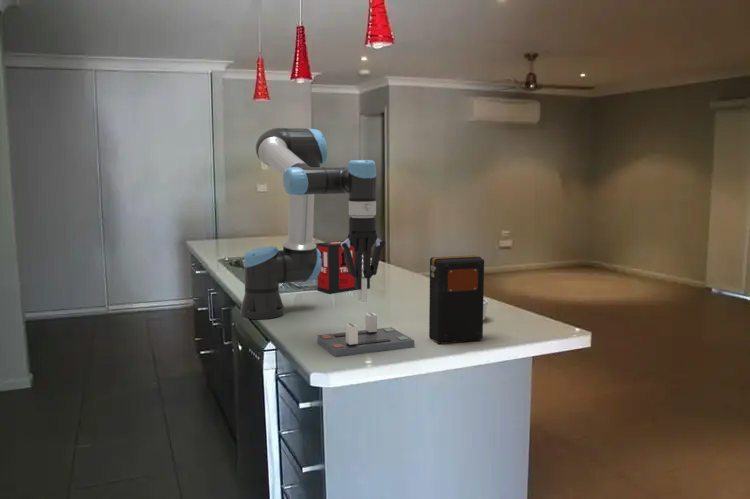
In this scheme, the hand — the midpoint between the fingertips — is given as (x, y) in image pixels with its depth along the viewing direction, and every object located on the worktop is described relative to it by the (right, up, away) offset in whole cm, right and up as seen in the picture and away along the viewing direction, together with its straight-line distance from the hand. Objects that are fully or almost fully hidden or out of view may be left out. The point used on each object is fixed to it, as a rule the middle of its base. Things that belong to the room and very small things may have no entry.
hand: (362, 300), depth 178 cm
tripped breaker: (-3, -12, 0) cm, 12 cm away
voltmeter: (+28, -13, +12) cm, 33 cm away
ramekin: (+35, -10, +37) cm, 52 cm away
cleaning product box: (-11, -3, +89) cm, 89 cm away
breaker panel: (+1, -13, +7) cm, 15 cm away
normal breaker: (+2, -10, +13) cm, 17 cm away
